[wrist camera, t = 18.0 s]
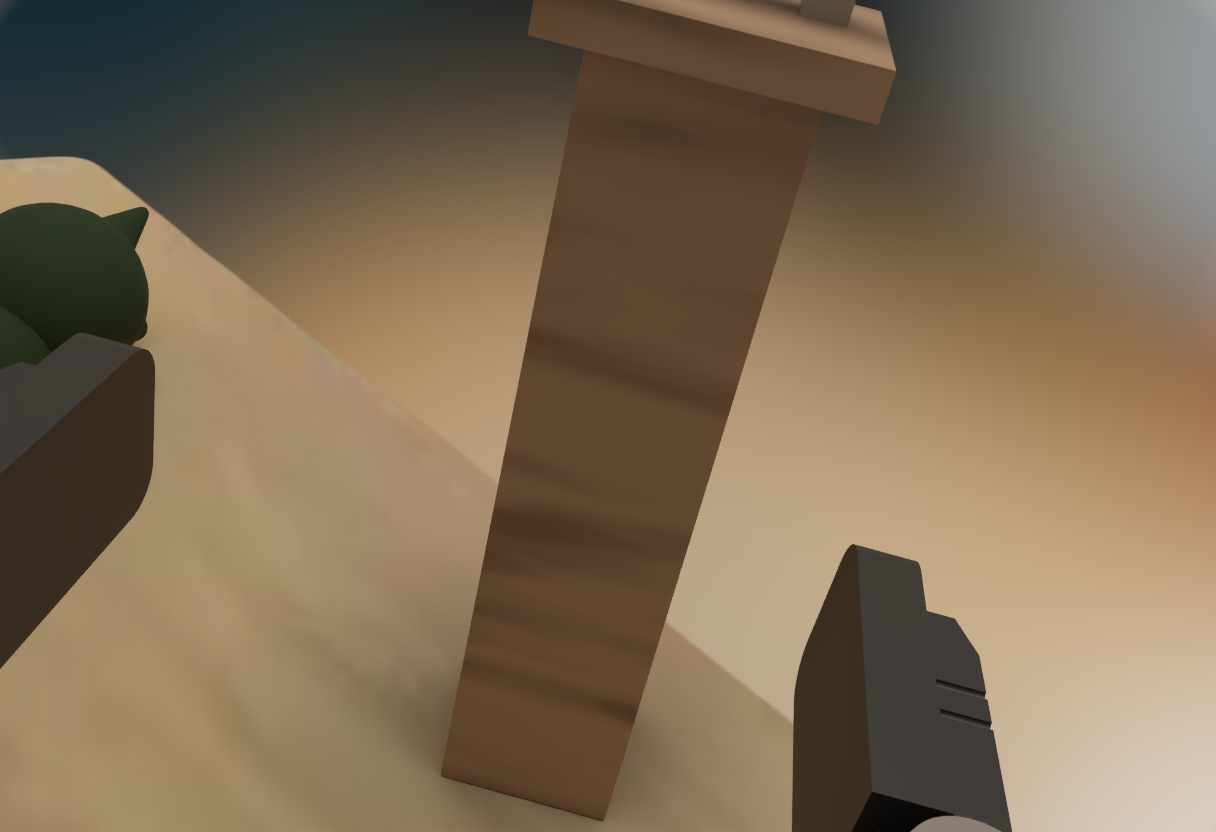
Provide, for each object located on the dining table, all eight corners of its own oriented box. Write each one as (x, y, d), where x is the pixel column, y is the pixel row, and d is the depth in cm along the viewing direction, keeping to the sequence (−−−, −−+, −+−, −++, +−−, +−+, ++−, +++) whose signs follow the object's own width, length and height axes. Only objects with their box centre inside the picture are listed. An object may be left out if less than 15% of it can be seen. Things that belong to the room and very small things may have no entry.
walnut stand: (635, 849, 47) (967, -143, 29) (398, 783, 48) (575, -240, 29) (661, 697, 55) (936, -161, 36) (458, 641, 56) (627, -238, 37)
